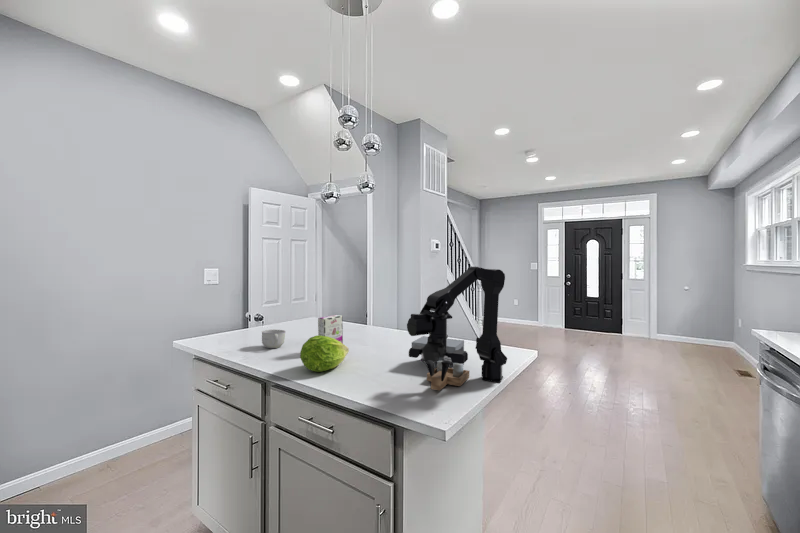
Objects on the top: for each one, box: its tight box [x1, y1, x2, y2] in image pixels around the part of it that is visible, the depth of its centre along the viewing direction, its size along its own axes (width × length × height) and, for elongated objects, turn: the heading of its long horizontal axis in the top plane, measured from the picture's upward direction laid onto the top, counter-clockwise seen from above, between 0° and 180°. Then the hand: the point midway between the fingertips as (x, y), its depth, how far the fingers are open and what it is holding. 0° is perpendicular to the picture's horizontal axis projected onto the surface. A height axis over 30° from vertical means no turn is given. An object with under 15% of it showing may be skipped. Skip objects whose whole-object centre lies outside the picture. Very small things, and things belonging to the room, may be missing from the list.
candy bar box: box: [317, 314, 344, 344], centre depth 167 cm, size 11×5×16 cm, turn 143°
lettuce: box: [299, 335, 350, 373], centre depth 144 cm, size 15×24×14 cm, turn 152°
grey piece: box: [411, 335, 465, 366], centre depth 146 cm, size 18×12×10 cm
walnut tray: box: [426, 361, 470, 391], centre depth 126 cm, size 12×20×6 cm, turn 155°
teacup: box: [261, 329, 286, 349], centre depth 174 cm, size 14×11×8 cm
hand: (437, 380), depth 118 cm, fingers closed on walnut tray, 3 cm apart
